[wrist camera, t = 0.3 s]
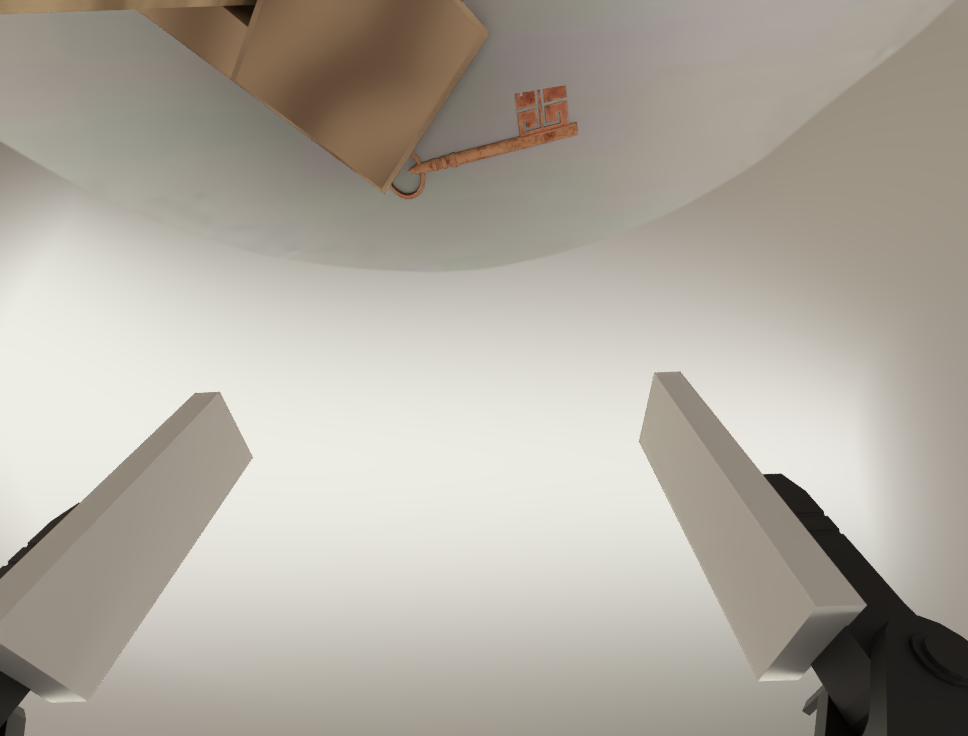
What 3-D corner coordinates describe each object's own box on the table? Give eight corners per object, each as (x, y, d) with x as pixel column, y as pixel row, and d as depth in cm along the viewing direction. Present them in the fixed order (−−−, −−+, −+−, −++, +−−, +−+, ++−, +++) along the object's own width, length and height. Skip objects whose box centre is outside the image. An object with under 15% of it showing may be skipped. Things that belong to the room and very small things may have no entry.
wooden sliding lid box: (154, -18, 23) (91, -20, 19) (210, -283, 17) (138, -365, 13) (393, 170, 30) (383, 195, 26) (484, 27, 25) (490, 33, 21)
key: (571, 64, 27) (366, 120, 29) (574, 64, 26) (364, 122, 28) (576, 156, 31) (394, 201, 32) (579, 158, 30) (393, 204, 31)
